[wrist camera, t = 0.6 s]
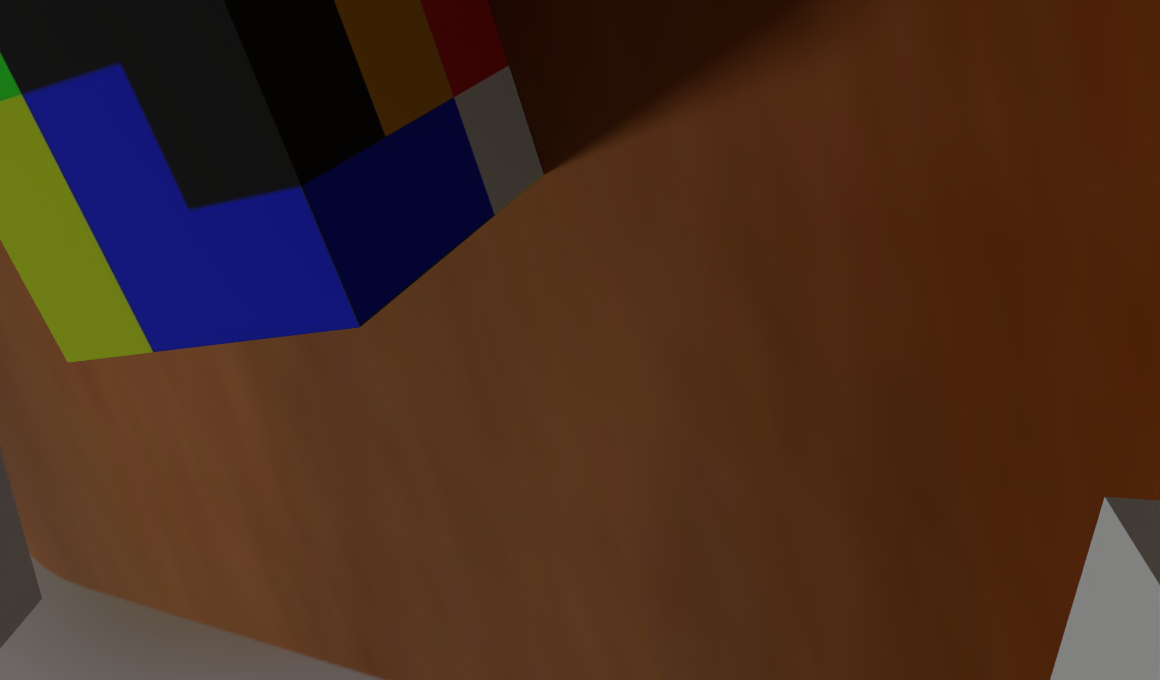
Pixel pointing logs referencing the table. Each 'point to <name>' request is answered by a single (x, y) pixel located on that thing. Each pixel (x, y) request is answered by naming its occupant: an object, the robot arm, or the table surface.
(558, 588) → the table surface
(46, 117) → the puzzle toy
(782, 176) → the table surface
